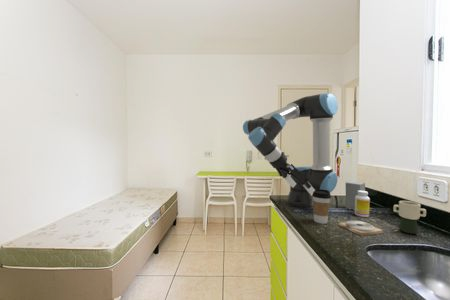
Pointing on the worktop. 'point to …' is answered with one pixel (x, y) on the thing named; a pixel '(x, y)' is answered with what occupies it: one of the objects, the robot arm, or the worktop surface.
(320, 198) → the coffee cup
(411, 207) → the character mug
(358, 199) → the supplement bottle
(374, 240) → the worktop surface
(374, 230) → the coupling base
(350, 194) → the skincare box
